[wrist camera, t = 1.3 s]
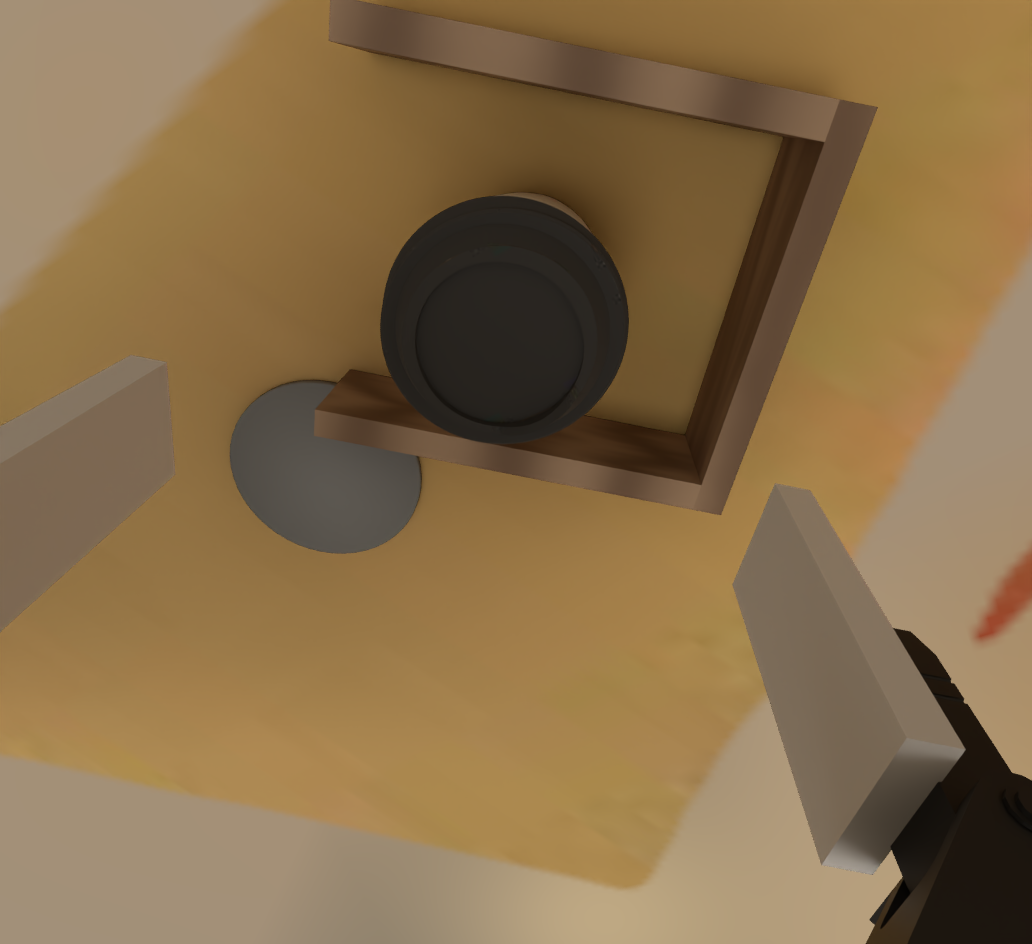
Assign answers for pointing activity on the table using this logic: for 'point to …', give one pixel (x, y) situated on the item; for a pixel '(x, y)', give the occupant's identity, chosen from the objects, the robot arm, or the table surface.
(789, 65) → the table surface
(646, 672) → the table surface
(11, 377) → the table surface
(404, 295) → the coffee cup
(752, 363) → the brown rectangular open frame
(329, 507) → the coaster
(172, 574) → the table surface
